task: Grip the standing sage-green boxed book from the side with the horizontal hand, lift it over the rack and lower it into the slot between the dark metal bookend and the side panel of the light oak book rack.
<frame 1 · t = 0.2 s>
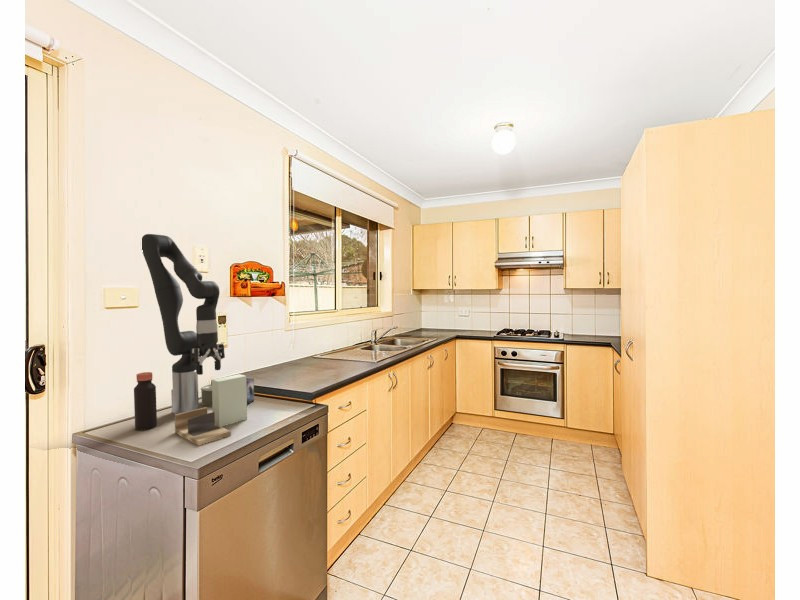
hand: (209, 372, 157), 18 cm above the dishwasher top, tool pointing down, fingers open, 8 cm apart
small box: (241, 404, 173), on the dishwasher top
bottle: (146, 427, 146), on the dishwasher top
rack: (202, 434, 139), on the dishwasher top
book: (230, 421, 151), on the dishwasher top
can: (216, 402, 177), on the dishwasher top
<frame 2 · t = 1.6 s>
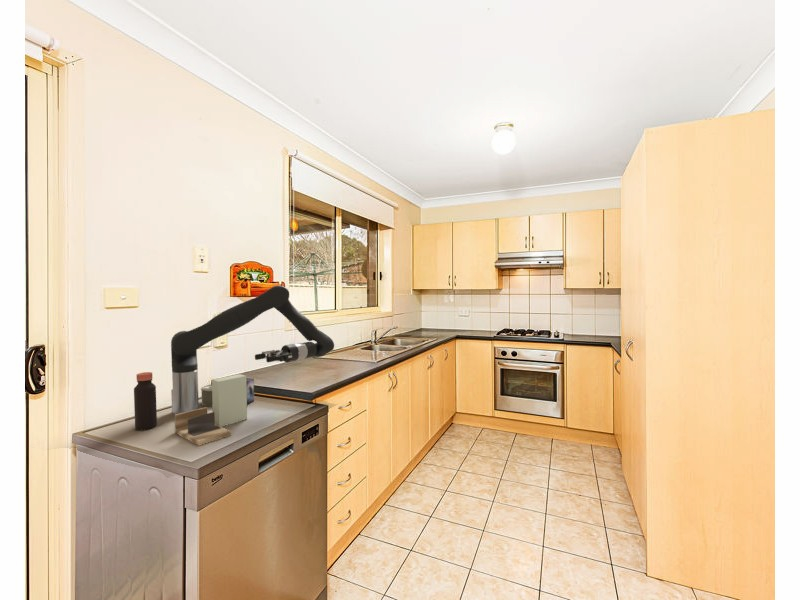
hand: (261, 358, 161), 22 cm above the dishwasher top, tool horizontal, fingers open, 8 cm apart
nothing on the dishwasher top moved.
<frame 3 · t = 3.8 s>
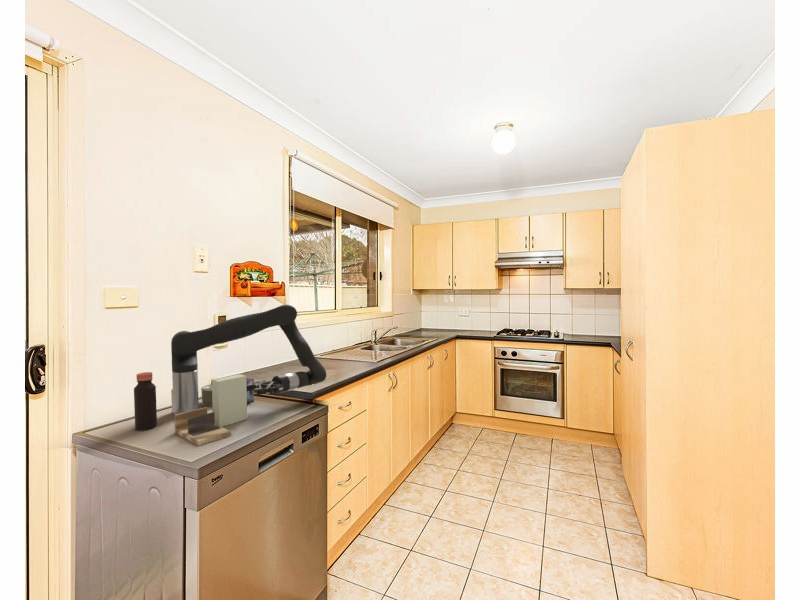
hand: (251, 390, 158), 10 cm above the dishwasher top, tool horizontal, fingers open, 8 cm apart
nothing on the dishwasher top moved.
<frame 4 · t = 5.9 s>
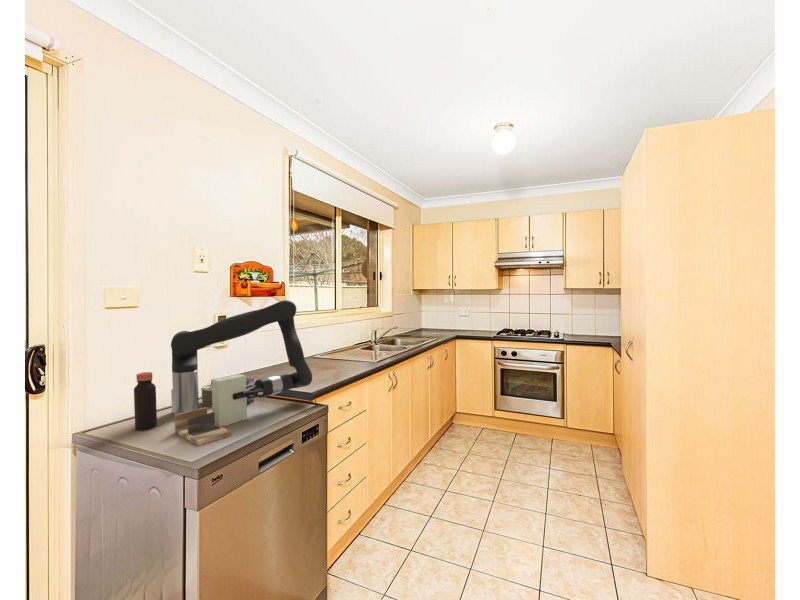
hand: (229, 395, 151), 10 cm above the dishwasher top, tool horizontal, fingers closed on book, 5 cm apart
book: (230, 421, 151), on the dishwasher top, touching gripper
everything else where it was.
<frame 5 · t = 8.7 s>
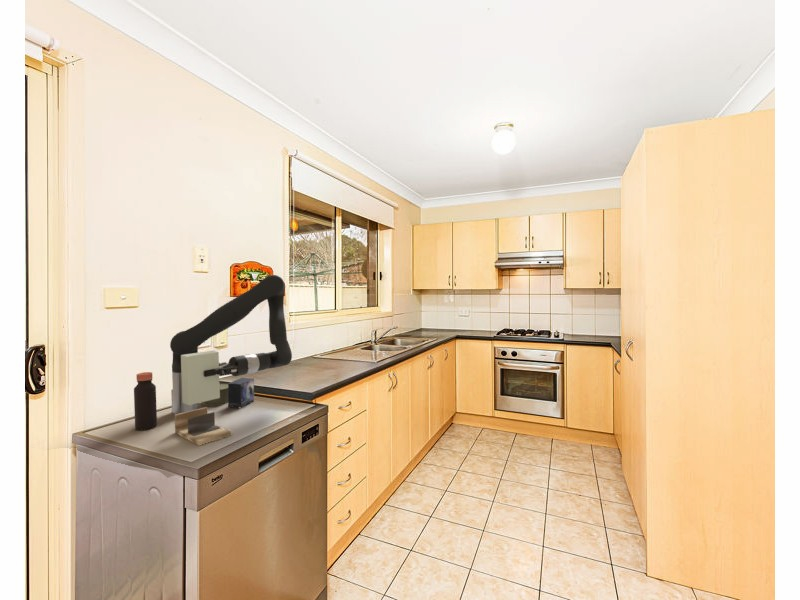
hand: (200, 372, 142), 21 cm above the dishwasher top, tool horizontal, fingers closed on book, 5 cm apart
book: (201, 400, 143), point 11 cm above the dishwasher top, touching gripper
everything else where it was.
when the fingers open (13 cm above the dishwasher top, at t = 11.4 s): book drops 1 cm, resting on rack.
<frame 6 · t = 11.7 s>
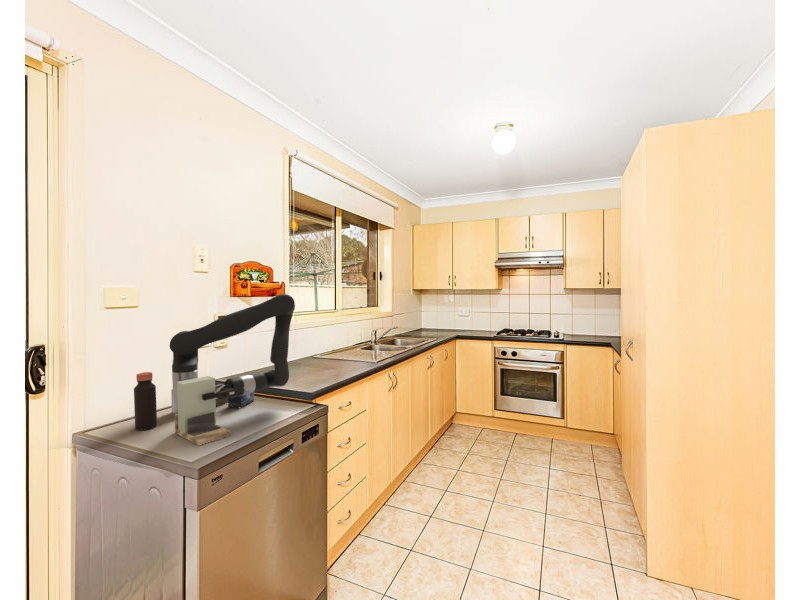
hand: (197, 395, 141), 13 cm above the dishwasher top, tool horizontal, fingers open, 8 cm apart
book: (197, 426, 142), point 1 cm above the dishwasher top, touching rack
everything else where it was.
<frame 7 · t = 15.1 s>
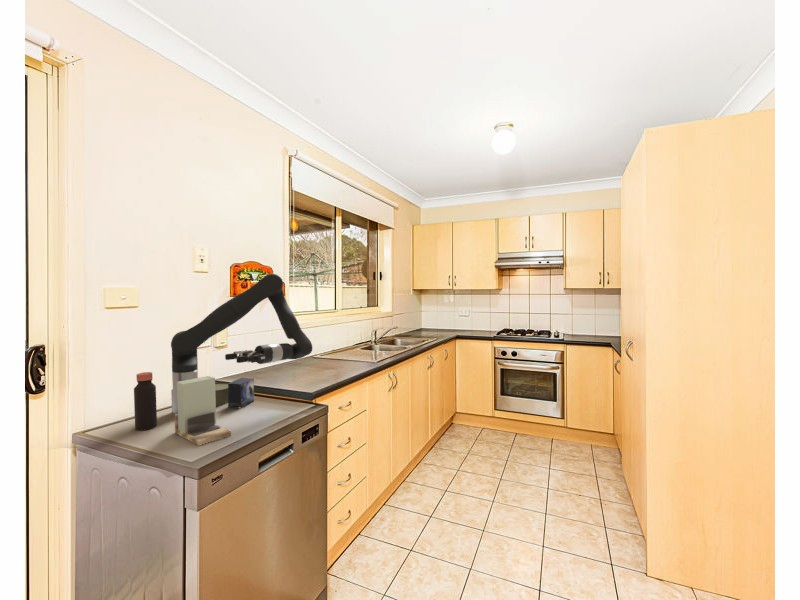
hand: (231, 358, 151), 24 cm above the dishwasher top, tool horizontal, fingers open, 8 cm apart
nothing on the dishwasher top moved.
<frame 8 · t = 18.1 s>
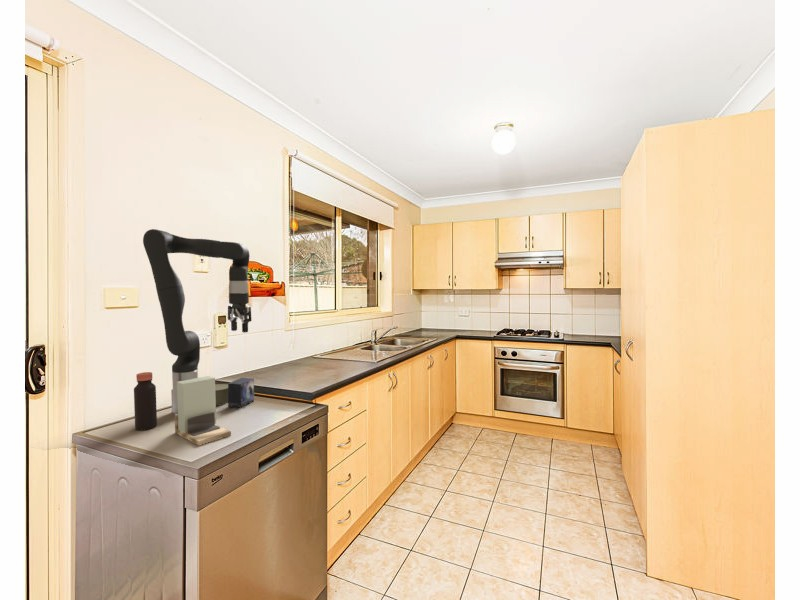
hand: (239, 331, 163), 33 cm above the dishwasher top, tool pointing down, fingers open, 8 cm apart
nothing on the dishwasher top moved.
at the end: book 0.5 cm from the target spot on the rack, point 1.5 cm above the rack's base; book tilted 0°; the gripper is holding nothing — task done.
